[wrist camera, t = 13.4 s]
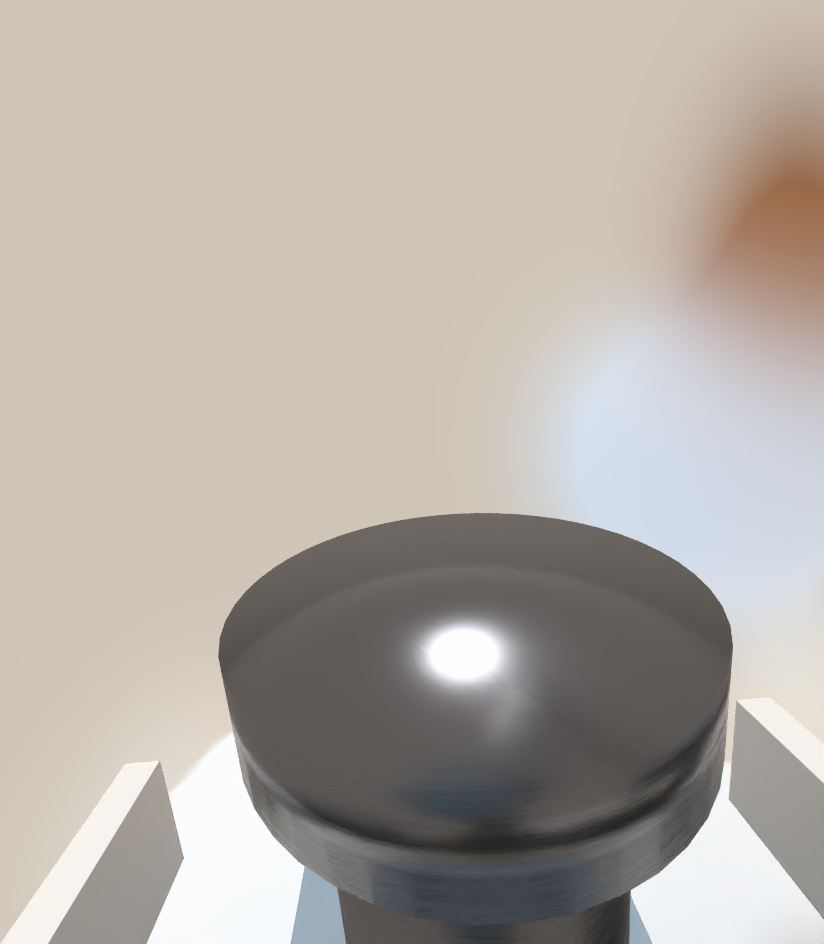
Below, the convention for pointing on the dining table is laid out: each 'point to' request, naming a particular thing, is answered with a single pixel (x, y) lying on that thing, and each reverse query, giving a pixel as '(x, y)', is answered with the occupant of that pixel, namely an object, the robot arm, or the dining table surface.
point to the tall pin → (480, 723)
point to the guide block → (322, 925)
